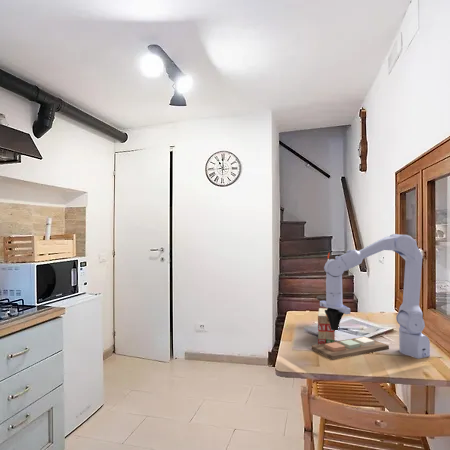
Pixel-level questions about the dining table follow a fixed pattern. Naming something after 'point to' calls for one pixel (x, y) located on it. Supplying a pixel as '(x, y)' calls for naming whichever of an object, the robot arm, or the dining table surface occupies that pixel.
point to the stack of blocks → (324, 328)
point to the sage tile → (350, 344)
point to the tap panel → (349, 352)
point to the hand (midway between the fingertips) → (334, 329)
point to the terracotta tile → (334, 347)
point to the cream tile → (364, 341)
